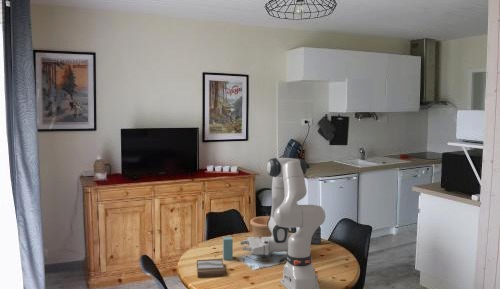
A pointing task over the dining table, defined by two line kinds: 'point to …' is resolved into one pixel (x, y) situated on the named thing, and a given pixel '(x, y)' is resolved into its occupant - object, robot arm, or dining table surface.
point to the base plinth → (210, 268)
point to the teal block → (227, 248)
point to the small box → (316, 236)
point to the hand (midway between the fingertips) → (241, 245)
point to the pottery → (260, 227)
